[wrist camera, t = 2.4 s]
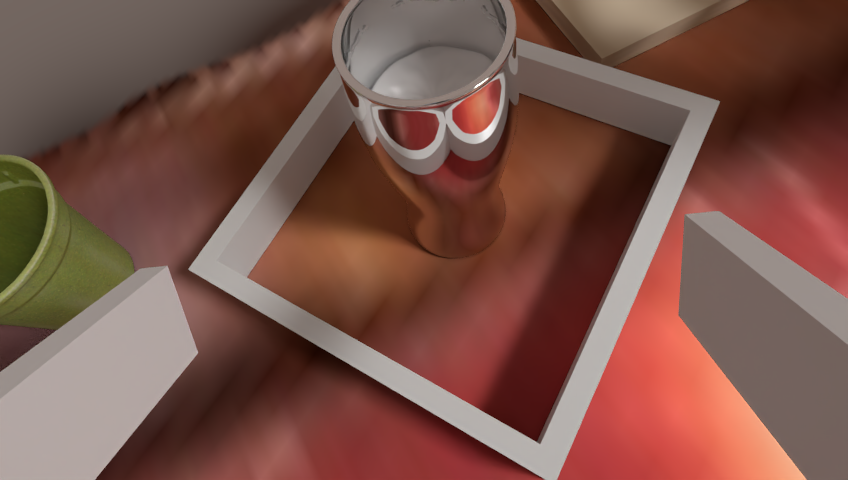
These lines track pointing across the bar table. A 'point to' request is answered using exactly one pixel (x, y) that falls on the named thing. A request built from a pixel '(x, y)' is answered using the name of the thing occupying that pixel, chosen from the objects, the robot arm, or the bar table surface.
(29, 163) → the plant pot
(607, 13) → the serving board
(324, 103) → the grey square frame
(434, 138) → the beer glass
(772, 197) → the bar table surface
